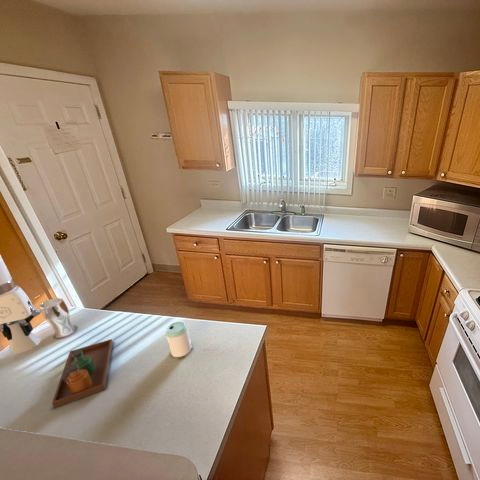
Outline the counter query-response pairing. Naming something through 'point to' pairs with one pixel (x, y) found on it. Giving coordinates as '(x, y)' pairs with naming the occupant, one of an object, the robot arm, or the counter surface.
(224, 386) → the counter surface
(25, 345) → the flask
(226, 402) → the counter surface
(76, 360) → the green bottle
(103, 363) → the tray
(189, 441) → the counter surface
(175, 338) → the can
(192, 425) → the counter surface
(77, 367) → the amber bottle
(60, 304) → the beer glass
